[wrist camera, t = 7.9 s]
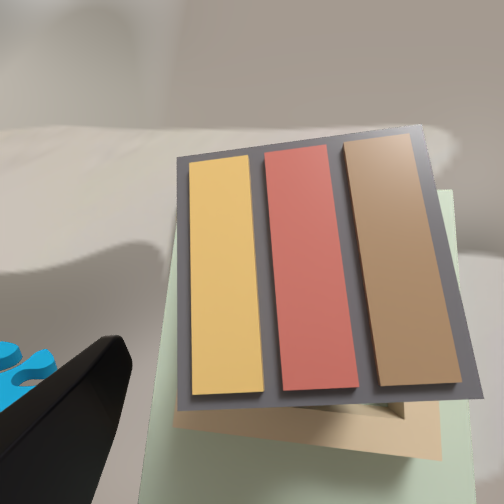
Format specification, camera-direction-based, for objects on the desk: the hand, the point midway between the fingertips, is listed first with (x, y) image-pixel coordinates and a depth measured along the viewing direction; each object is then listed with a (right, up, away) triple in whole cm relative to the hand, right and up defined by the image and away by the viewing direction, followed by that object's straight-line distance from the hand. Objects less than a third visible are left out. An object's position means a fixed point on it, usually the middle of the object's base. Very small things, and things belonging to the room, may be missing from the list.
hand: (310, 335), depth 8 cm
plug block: (+1, -1, +8) cm, 9 cm away
